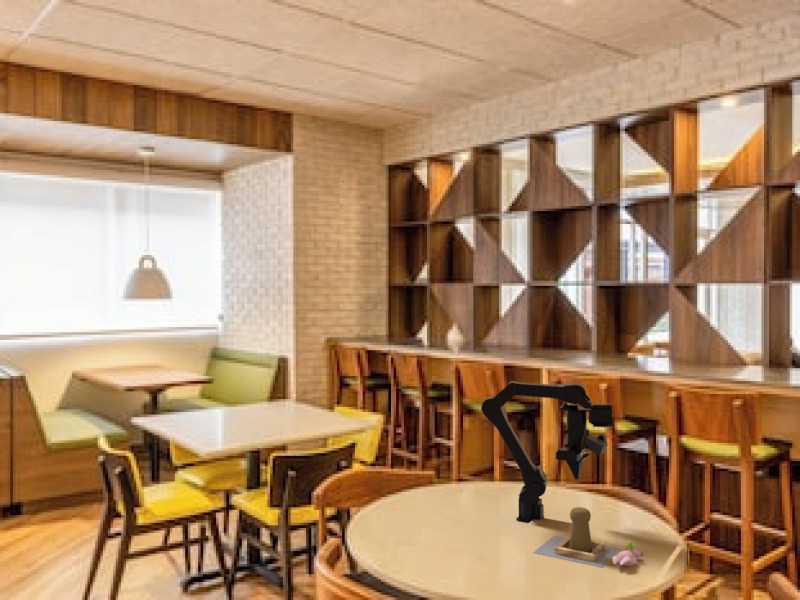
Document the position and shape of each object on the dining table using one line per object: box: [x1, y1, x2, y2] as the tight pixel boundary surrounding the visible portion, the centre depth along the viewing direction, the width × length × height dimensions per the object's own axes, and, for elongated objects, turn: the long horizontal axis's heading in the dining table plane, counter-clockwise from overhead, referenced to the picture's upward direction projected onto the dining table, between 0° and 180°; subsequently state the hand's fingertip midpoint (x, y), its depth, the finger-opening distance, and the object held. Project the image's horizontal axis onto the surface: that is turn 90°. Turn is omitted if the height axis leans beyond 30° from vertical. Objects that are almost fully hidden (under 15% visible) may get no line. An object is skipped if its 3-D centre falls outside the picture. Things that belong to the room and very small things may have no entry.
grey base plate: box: [532, 535, 621, 568], centre depth 177 cm, size 18×15×1 cm
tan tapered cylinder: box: [569, 506, 592, 553], centre depth 176 cm, size 6×6×11 cm
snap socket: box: [555, 535, 607, 562], centre depth 176 cm, size 10×10×2 cm
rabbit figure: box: [612, 540, 645, 567], centre depth 169 cm, size 6×6×15 cm
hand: (577, 479), depth 200 cm, fingers closed
